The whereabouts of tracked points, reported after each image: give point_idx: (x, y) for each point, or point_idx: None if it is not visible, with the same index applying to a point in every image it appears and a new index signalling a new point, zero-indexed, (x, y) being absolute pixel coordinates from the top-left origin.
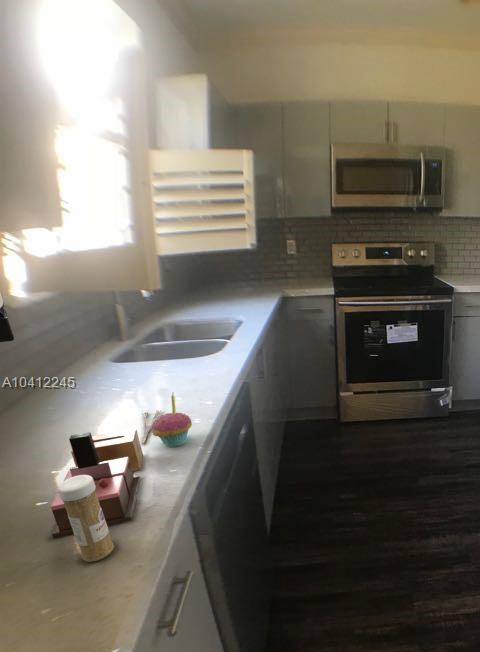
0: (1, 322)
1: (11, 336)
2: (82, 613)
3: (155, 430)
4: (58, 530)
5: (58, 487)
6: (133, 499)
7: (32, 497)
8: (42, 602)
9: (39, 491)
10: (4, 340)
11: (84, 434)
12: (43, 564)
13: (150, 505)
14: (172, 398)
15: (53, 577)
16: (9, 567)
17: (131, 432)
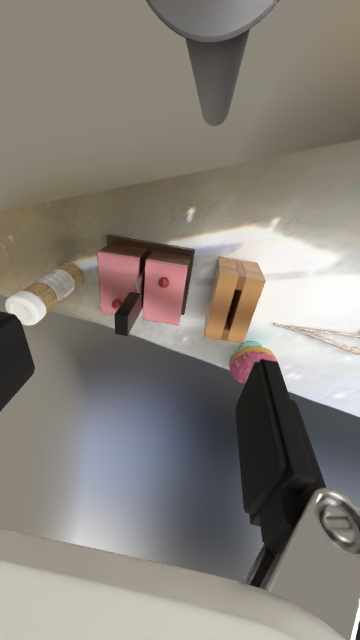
0: (250, 488)
1: (237, 423)
2: (5, 263)
3: (244, 353)
4: (111, 242)
5: (13, 297)
6: None
7: (214, 200)
8: (20, 234)
9: (226, 207)
10: (243, 393)
11: (121, 330)
12: (69, 229)
13: None
14: None
15: (49, 240)
16: (73, 197)
17: (232, 338)
